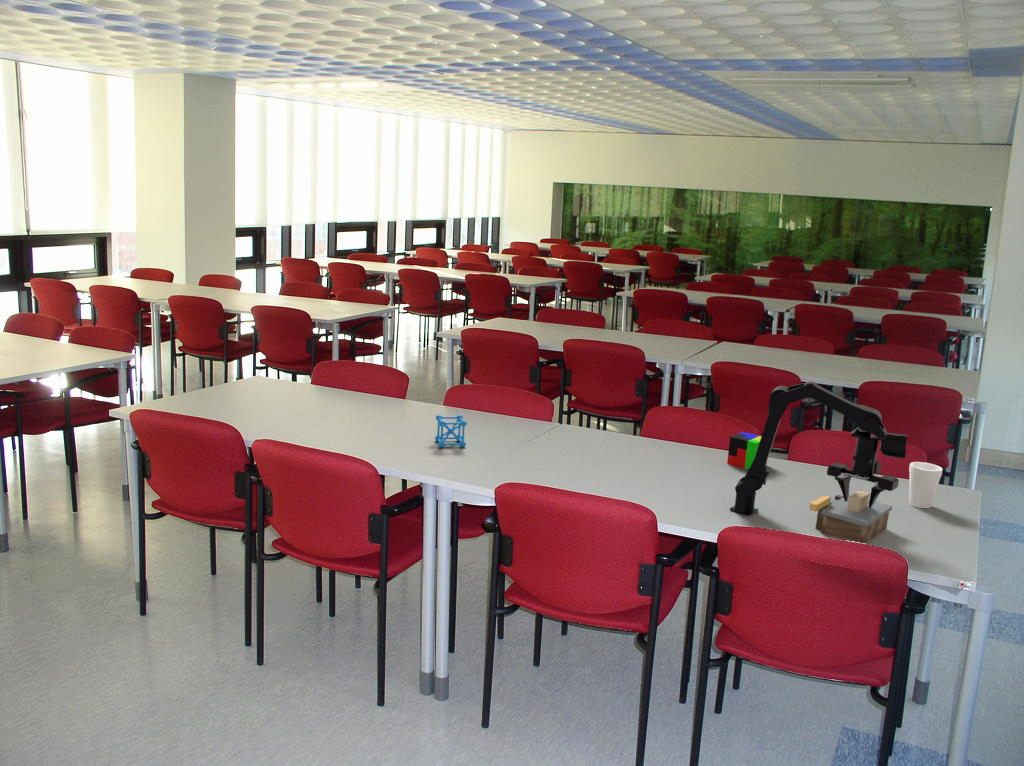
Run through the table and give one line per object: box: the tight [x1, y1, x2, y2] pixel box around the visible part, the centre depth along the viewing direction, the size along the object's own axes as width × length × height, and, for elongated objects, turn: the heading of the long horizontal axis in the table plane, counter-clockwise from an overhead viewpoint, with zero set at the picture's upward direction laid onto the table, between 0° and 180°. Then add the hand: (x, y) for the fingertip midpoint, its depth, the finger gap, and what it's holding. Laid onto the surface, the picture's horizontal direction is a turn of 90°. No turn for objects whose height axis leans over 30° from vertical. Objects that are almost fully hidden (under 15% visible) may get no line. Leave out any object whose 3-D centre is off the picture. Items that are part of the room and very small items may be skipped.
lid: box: [821, 490, 893, 527], centre depth 262 cm, size 20×16×5 cm
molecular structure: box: [434, 414, 468, 449], centre depth 324 cm, size 10×10×10 cm
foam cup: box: [908, 461, 943, 509], centre depth 287 cm, size 10×9×13 cm
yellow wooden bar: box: [808, 494, 831, 512], centre depth 259 cm, size 10×2×2 cm, turn 139°
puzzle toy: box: [726, 431, 762, 470], centre depth 320 cm, size 10×10×10 cm
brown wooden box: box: [815, 494, 890, 544], centre depth 263 cm, size 19×15×7 cm
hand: (858, 504), depth 261 cm, fingers open, 7 cm apart
